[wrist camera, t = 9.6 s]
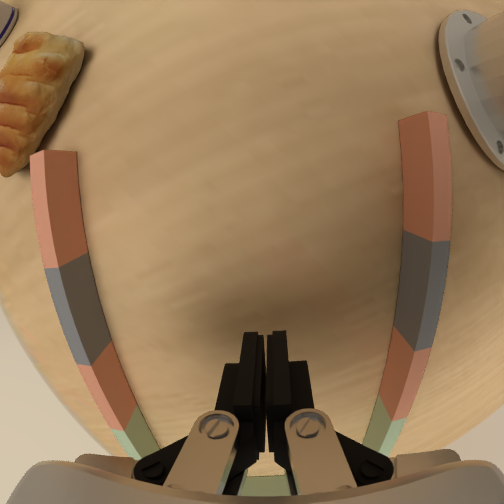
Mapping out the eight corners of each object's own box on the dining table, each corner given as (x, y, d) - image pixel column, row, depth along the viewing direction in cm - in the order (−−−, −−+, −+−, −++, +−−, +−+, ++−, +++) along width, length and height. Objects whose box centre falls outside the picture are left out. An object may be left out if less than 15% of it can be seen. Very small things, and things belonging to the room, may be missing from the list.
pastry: (45, 185, 13) (4, 190, 9) (-6, 164, 12) (-42, 167, 8) (98, 43, 11) (67, 19, 7) (35, 45, 10) (5, 30, 6)
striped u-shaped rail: (415, 123, 12) (446, 114, 9) (363, 467, 20) (369, 488, 17) (62, 156, 13) (29, 155, 10) (166, 475, 20) (160, 496, 17)
